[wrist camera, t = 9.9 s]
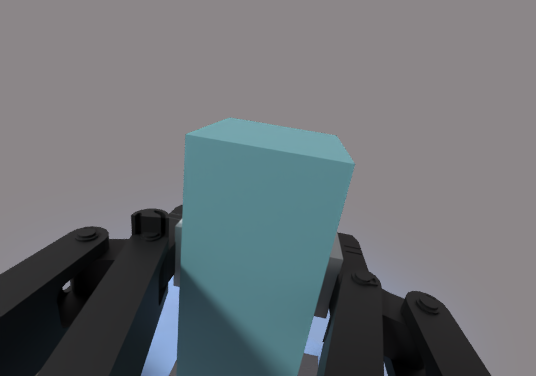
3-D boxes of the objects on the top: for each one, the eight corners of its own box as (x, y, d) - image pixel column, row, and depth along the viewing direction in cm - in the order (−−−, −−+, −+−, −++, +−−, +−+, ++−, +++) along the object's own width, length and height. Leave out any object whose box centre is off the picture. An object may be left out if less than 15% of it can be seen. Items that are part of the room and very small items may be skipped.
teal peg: (287, 342, 16) (336, 135, 11) (280, 438, 11) (354, 163, 7) (209, 325, 16) (229, 117, 12) (175, 411, 12) (185, 134, 7)
